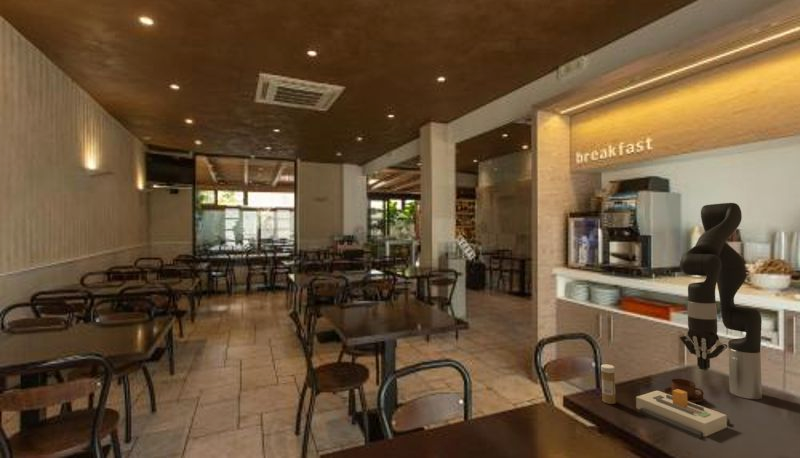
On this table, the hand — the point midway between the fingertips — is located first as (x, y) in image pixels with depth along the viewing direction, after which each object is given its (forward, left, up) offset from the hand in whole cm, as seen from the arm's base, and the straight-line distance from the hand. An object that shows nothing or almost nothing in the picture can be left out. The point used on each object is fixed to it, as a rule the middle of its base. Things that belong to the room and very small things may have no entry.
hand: (703, 369), depth 126 cm
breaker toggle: (0, -7, -15) cm, 16 cm away
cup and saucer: (-17, -16, -19) cm, 30 cm away
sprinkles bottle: (+10, -27, -19) cm, 35 cm away
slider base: (0, -8, -19) cm, 21 cm away
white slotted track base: (-1, -7, -19) cm, 20 cm away
